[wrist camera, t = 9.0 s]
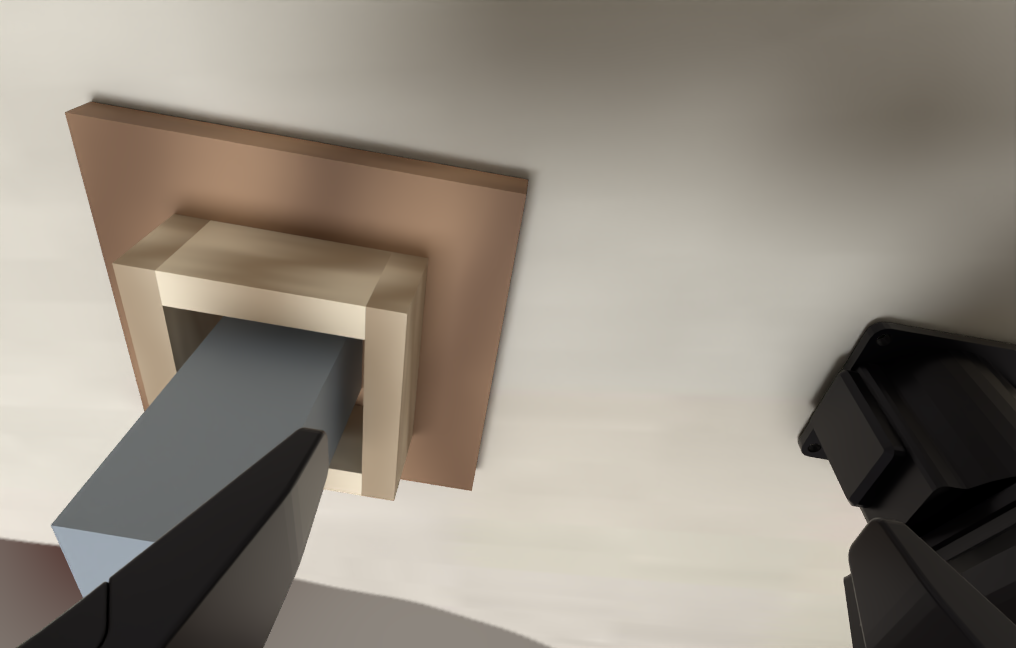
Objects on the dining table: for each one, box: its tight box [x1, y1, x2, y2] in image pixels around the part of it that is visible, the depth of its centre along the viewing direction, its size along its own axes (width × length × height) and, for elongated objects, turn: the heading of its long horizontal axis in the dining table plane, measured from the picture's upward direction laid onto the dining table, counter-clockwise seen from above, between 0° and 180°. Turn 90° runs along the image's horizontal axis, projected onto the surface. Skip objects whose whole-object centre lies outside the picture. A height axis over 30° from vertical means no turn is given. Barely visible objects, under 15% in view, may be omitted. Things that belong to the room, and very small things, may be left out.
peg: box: [51, 316, 363, 598], centre depth 18 cm, size 4×4×10 cm
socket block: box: [65, 102, 528, 501], centre depth 21 cm, size 14×14×4 cm
